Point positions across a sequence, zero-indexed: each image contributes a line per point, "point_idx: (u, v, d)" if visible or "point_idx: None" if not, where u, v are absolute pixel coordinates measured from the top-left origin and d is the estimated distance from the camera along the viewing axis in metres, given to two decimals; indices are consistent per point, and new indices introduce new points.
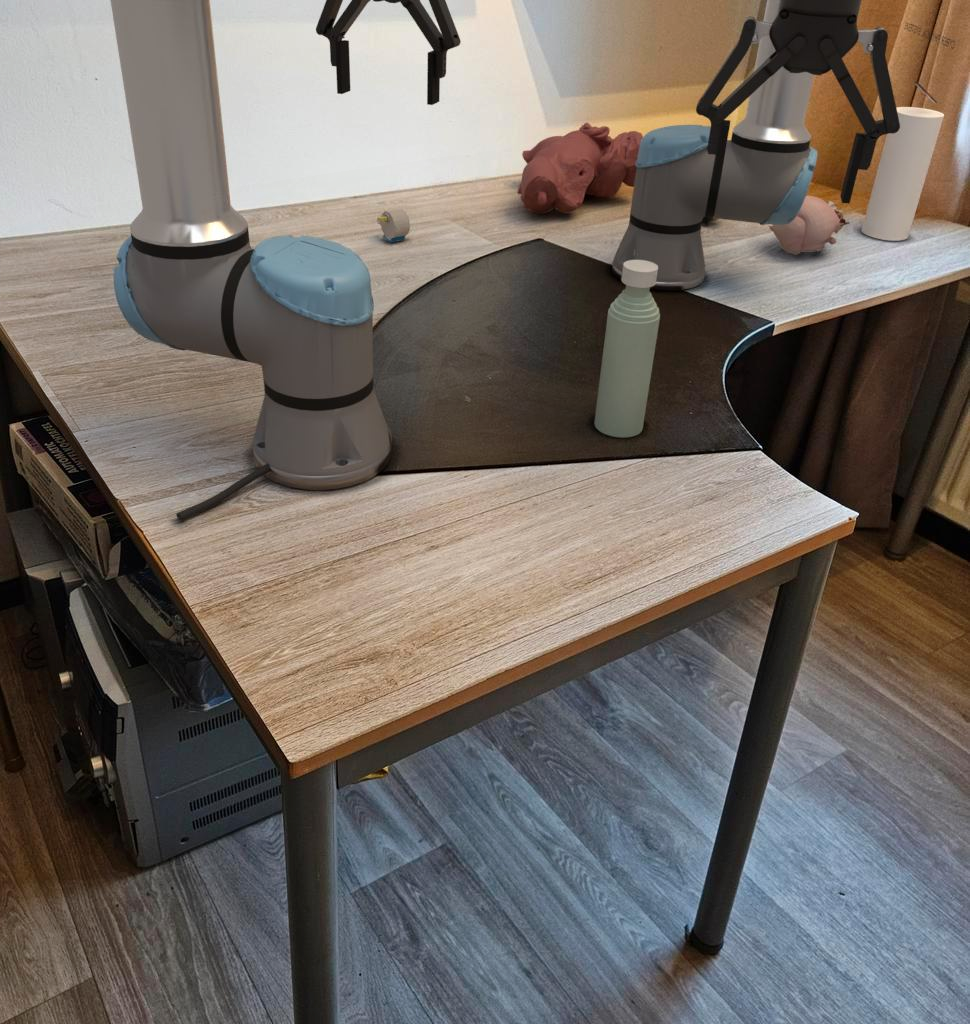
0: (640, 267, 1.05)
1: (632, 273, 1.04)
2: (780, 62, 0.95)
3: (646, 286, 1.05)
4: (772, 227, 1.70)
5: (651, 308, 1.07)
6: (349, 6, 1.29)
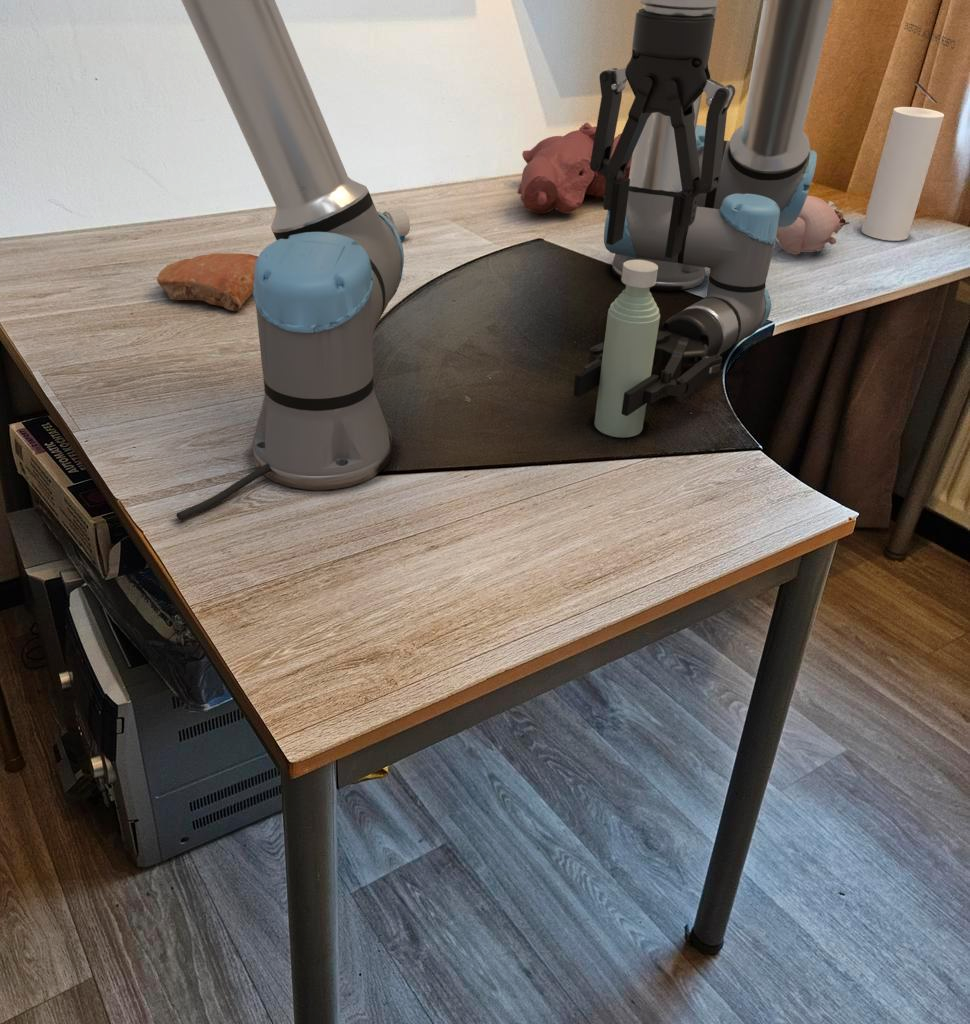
0: (640, 267, 1.05)
1: (632, 273, 1.04)
2: None
3: (646, 286, 1.05)
4: None
5: (651, 308, 1.07)
6: None
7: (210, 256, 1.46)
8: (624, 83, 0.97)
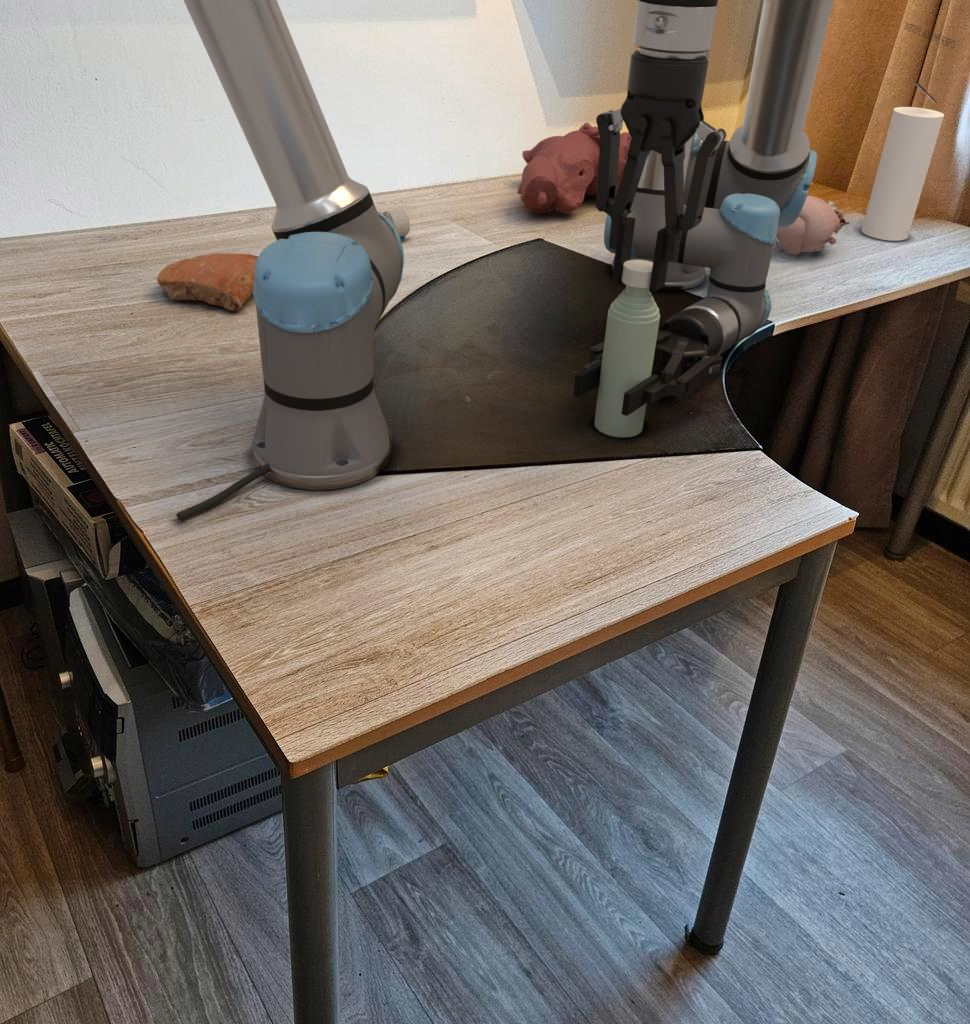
0: (640, 267, 1.05)
1: (632, 273, 1.04)
2: None
3: (646, 286, 1.05)
4: None
5: (651, 308, 1.07)
6: None
7: (210, 256, 1.46)
8: (621, 123, 0.99)
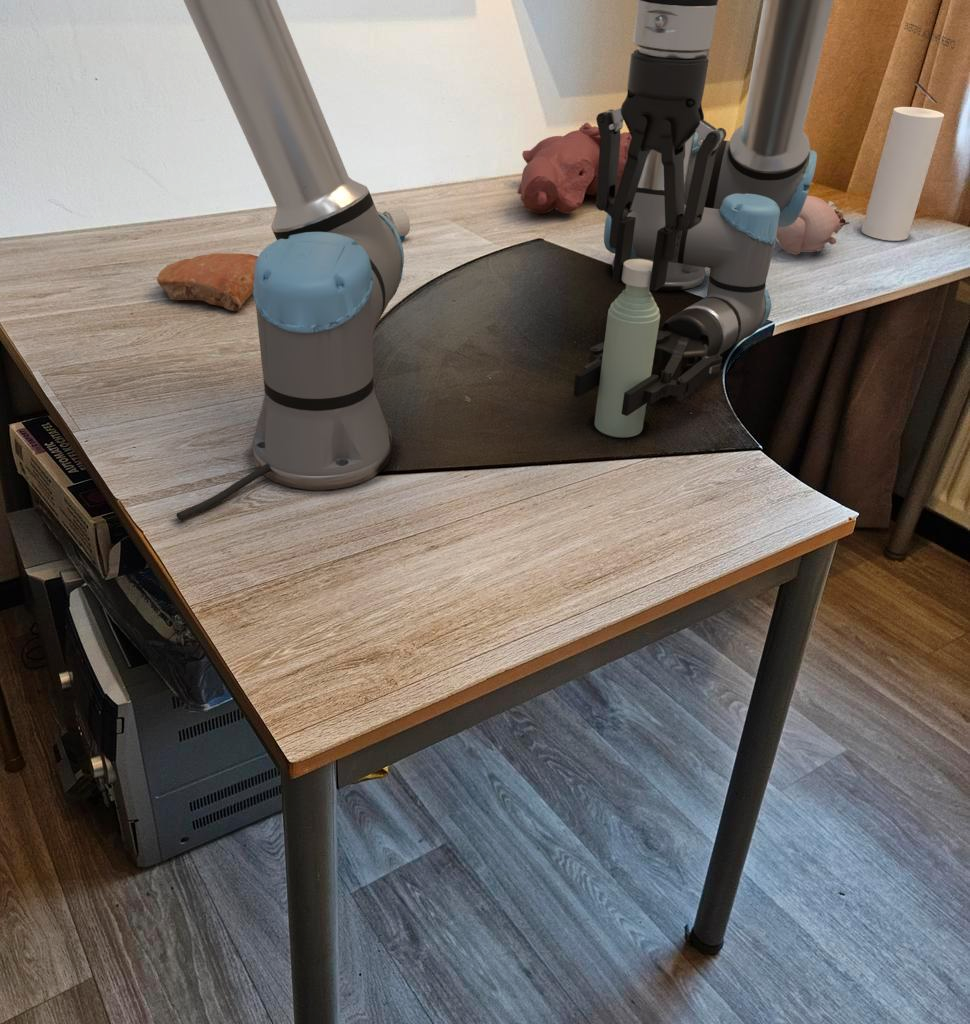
0: (646, 265, 1.05)
1: None
2: None
3: None
4: None
5: (651, 308, 1.07)
6: None
7: (210, 256, 1.46)
8: (621, 122, 0.99)
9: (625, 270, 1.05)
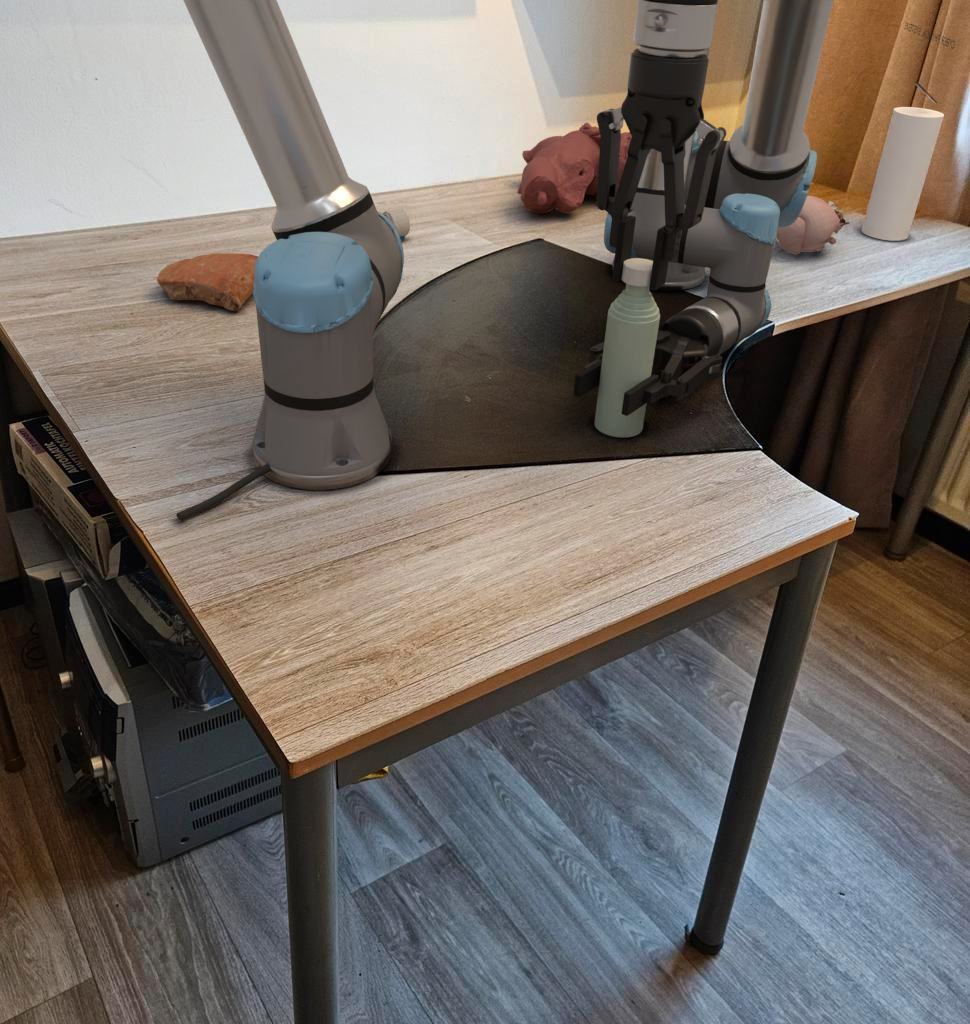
0: (641, 262, 1.06)
1: None
2: None
3: None
4: None
5: (651, 308, 1.07)
6: None
7: (210, 256, 1.46)
8: (621, 122, 0.99)
9: (648, 274, 1.04)
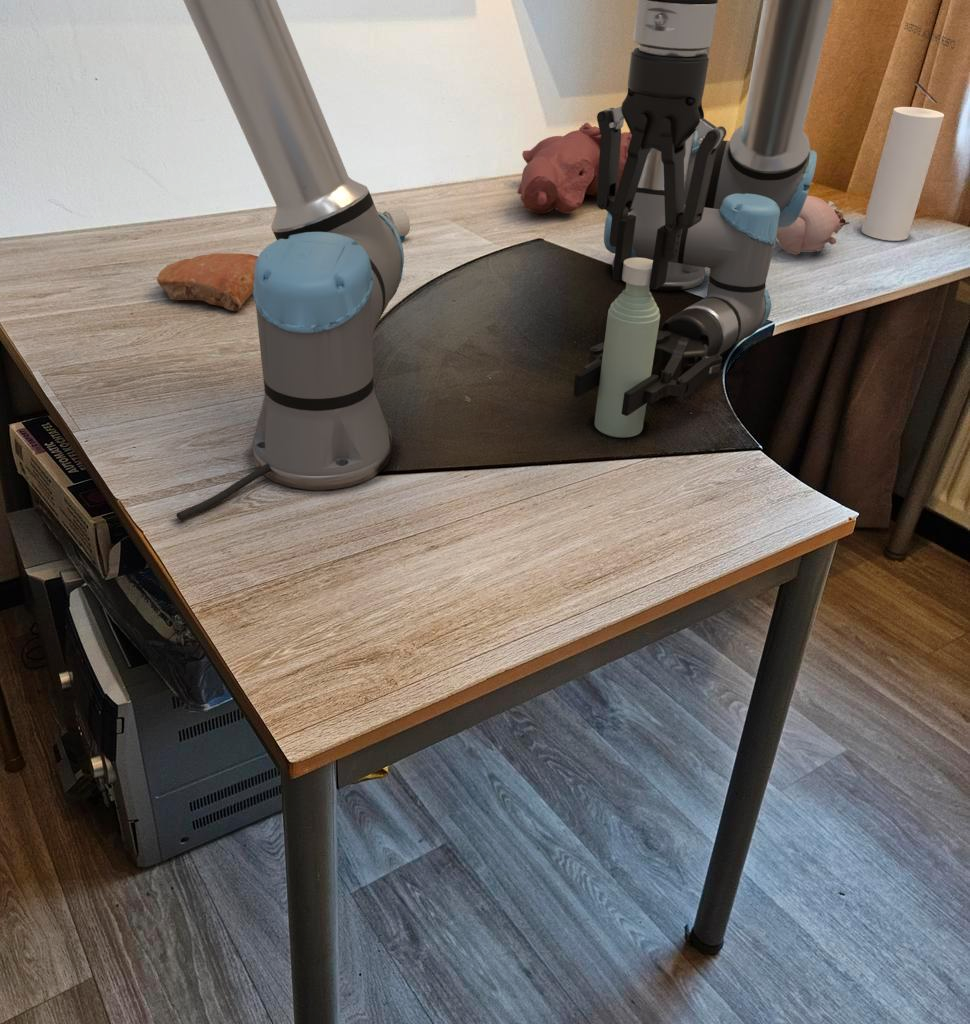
0: (635, 262, 1.05)
1: None
2: None
3: (623, 279, 1.06)
4: None
5: (651, 308, 1.07)
6: None
7: (210, 256, 1.46)
8: (622, 121, 0.99)
9: None
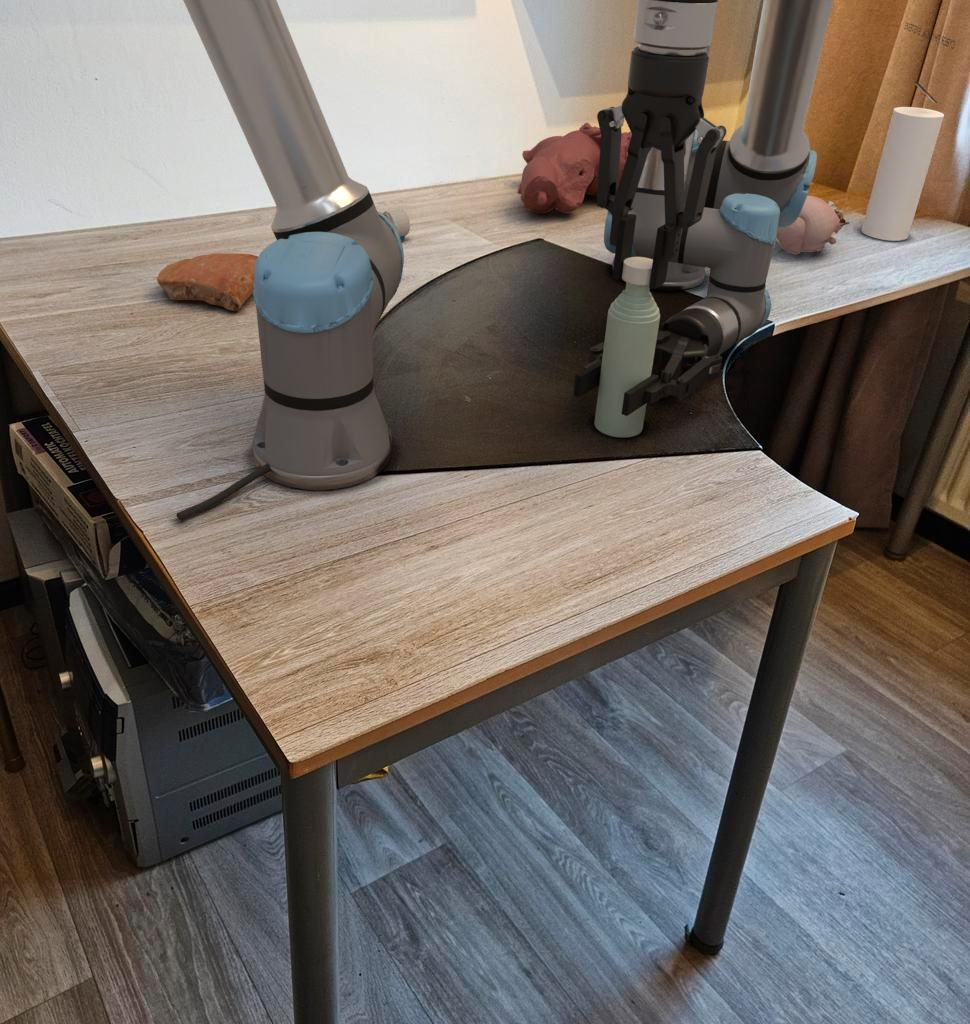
0: (640, 264, 1.05)
1: (631, 270, 1.04)
2: None
3: (645, 283, 1.05)
4: None
5: (651, 308, 1.07)
6: None
7: (210, 256, 1.46)
8: (622, 120, 0.99)
9: None
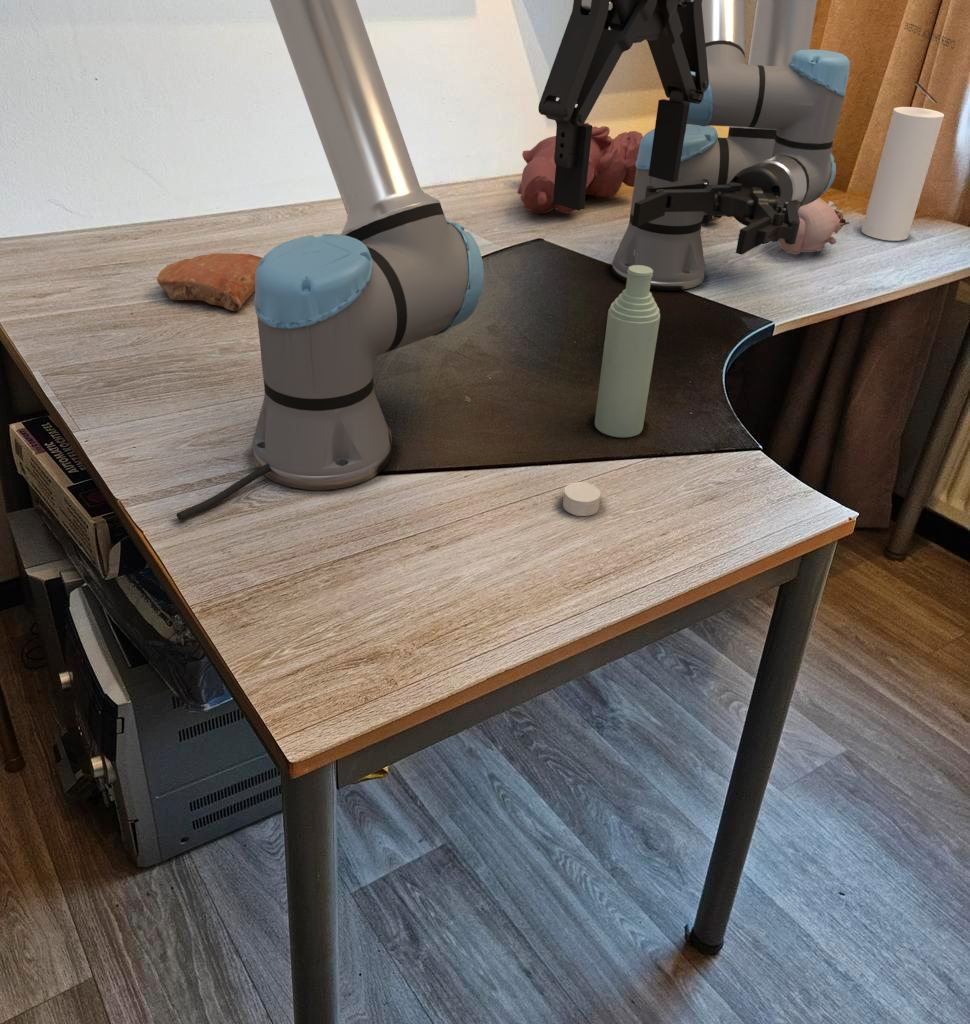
0: (584, 489, 1.01)
1: None
2: None
3: None
4: None
5: (651, 308, 1.07)
6: None
7: (210, 256, 1.46)
8: None
9: (585, 505, 0.99)
